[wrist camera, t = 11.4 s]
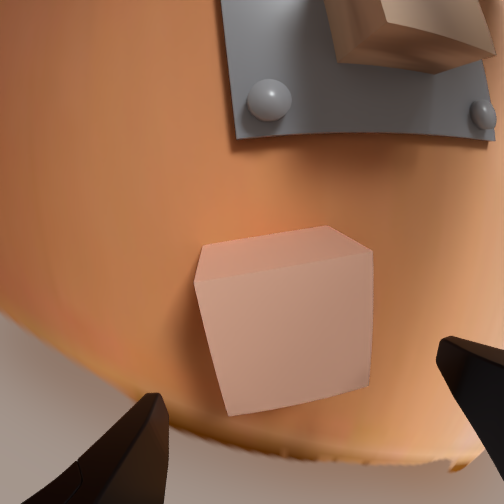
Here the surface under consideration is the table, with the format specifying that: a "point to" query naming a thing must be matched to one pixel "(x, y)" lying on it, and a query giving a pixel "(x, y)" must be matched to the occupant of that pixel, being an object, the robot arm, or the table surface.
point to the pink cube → (287, 317)
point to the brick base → (409, 33)
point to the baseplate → (337, 82)
